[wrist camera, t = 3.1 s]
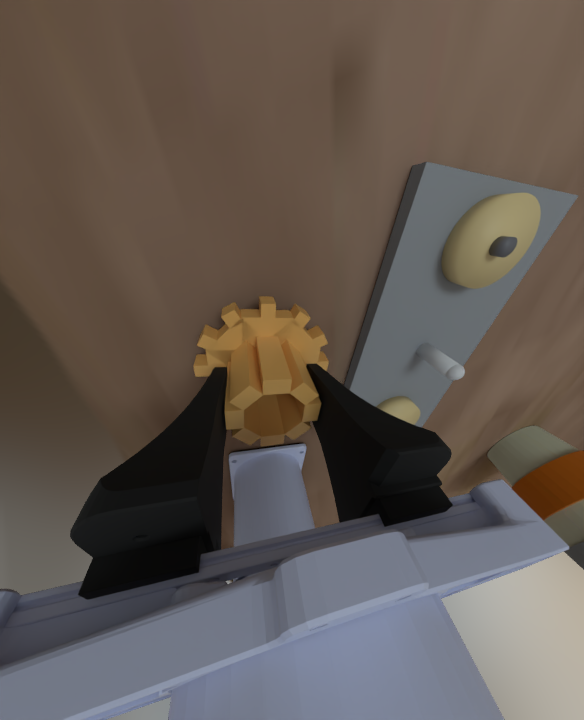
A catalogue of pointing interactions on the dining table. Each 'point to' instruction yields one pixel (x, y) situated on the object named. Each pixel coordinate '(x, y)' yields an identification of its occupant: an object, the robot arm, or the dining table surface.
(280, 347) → the amber gear
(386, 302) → the gear board
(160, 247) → the dining table surface
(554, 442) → the reusable coffee cup
